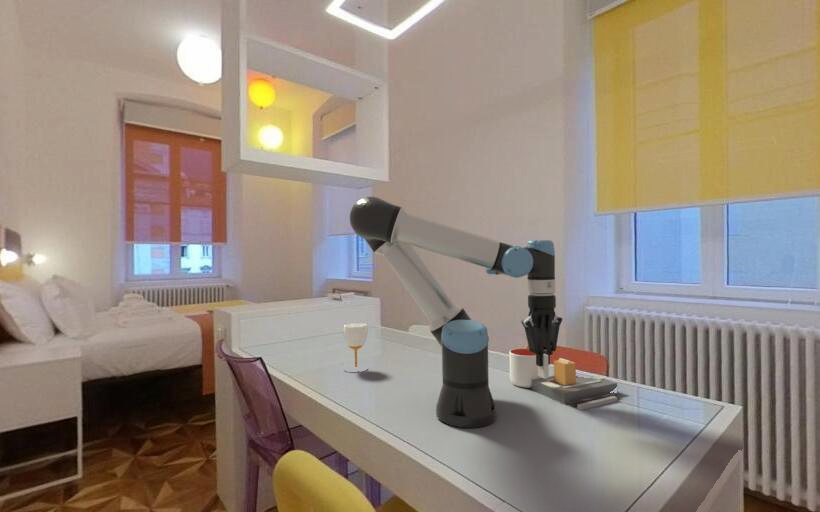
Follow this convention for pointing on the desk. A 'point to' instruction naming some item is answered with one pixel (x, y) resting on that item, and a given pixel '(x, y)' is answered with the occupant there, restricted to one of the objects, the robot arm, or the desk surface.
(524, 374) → the cup
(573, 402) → the black bar
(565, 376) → the breaker toggle
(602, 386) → the box
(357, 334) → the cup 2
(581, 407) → the cord grey
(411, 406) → the desk surface
